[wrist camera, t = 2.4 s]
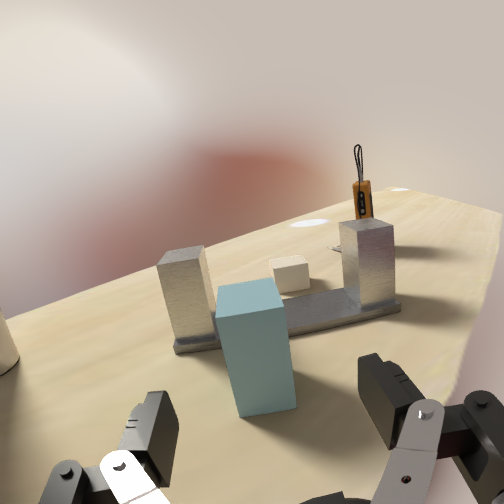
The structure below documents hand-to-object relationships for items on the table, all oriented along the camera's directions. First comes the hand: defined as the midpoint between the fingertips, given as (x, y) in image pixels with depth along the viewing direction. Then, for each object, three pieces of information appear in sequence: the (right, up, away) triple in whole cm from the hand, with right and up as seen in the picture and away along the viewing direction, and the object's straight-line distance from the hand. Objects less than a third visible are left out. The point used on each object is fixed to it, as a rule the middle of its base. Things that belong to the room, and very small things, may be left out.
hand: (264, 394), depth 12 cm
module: (+1, -6, +13) cm, 15 cm away
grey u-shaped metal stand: (+4, -2, +26) cm, 26 cm away
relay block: (+5, +1, +36) cm, 37 cm away
